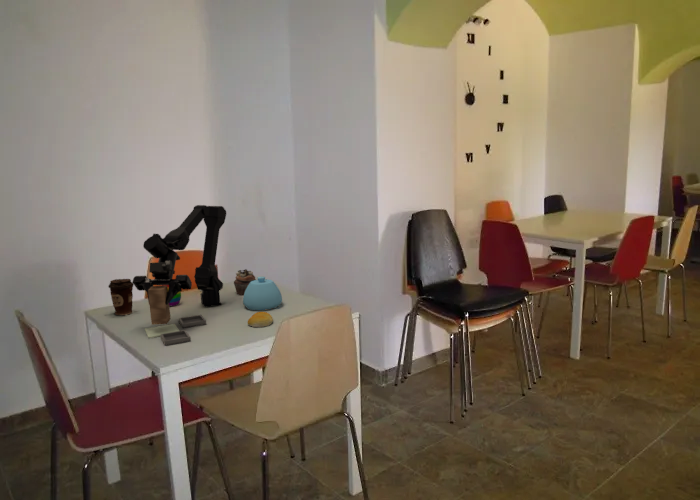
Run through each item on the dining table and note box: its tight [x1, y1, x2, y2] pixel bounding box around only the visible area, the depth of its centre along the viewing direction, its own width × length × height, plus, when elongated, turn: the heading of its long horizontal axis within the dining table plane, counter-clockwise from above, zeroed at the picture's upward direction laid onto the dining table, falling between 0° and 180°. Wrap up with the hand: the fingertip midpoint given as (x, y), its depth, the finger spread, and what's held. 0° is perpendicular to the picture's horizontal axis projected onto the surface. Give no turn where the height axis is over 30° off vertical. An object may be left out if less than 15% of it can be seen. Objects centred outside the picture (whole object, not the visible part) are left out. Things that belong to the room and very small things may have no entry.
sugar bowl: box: [242, 276, 283, 311], centre depth 218 cm, size 15×15×12 cm
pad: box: [144, 323, 180, 339], centre depth 191 cm, size 10×10×1 cm
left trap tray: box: [160, 329, 192, 347], centre depth 182 cm, size 8×8×2 cm
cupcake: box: [233, 268, 257, 296], centre depth 238 cm, size 10×10×10 cm
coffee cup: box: [107, 278, 135, 316], centre depth 213 cm, size 9×8×13 cm
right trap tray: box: [177, 314, 207, 329], centre depth 199 cm, size 8×8×2 cm
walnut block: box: [147, 285, 171, 326], centre depth 190 cm, size 5×5×12 cm
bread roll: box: [247, 311, 274, 328], centre depth 196 cm, size 8×9×4 cm
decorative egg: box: [161, 285, 182, 307], centre depth 224 cm, size 8×8×10 cm
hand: (158, 304), depth 188 cm, fingers closed on walnut block, 5 cm apart
